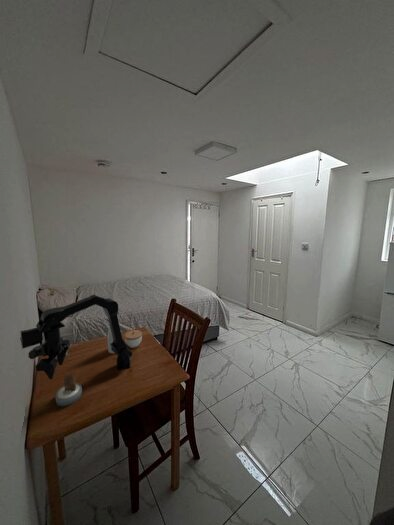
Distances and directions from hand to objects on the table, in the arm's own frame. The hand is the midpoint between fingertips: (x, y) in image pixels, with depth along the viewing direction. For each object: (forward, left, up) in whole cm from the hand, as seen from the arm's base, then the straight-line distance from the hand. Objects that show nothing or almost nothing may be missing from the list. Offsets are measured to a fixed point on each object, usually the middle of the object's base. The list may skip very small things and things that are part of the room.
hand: (56, 371), depth 92 cm
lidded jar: (-29, -38, -13) cm, 49 cm away
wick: (-5, +1, -9) cm, 11 cm away
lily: (+9, -30, -13) cm, 33 cm away
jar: (-5, +1, -12) cm, 13 cm away
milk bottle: (-18, -34, -13) cm, 40 cm away
